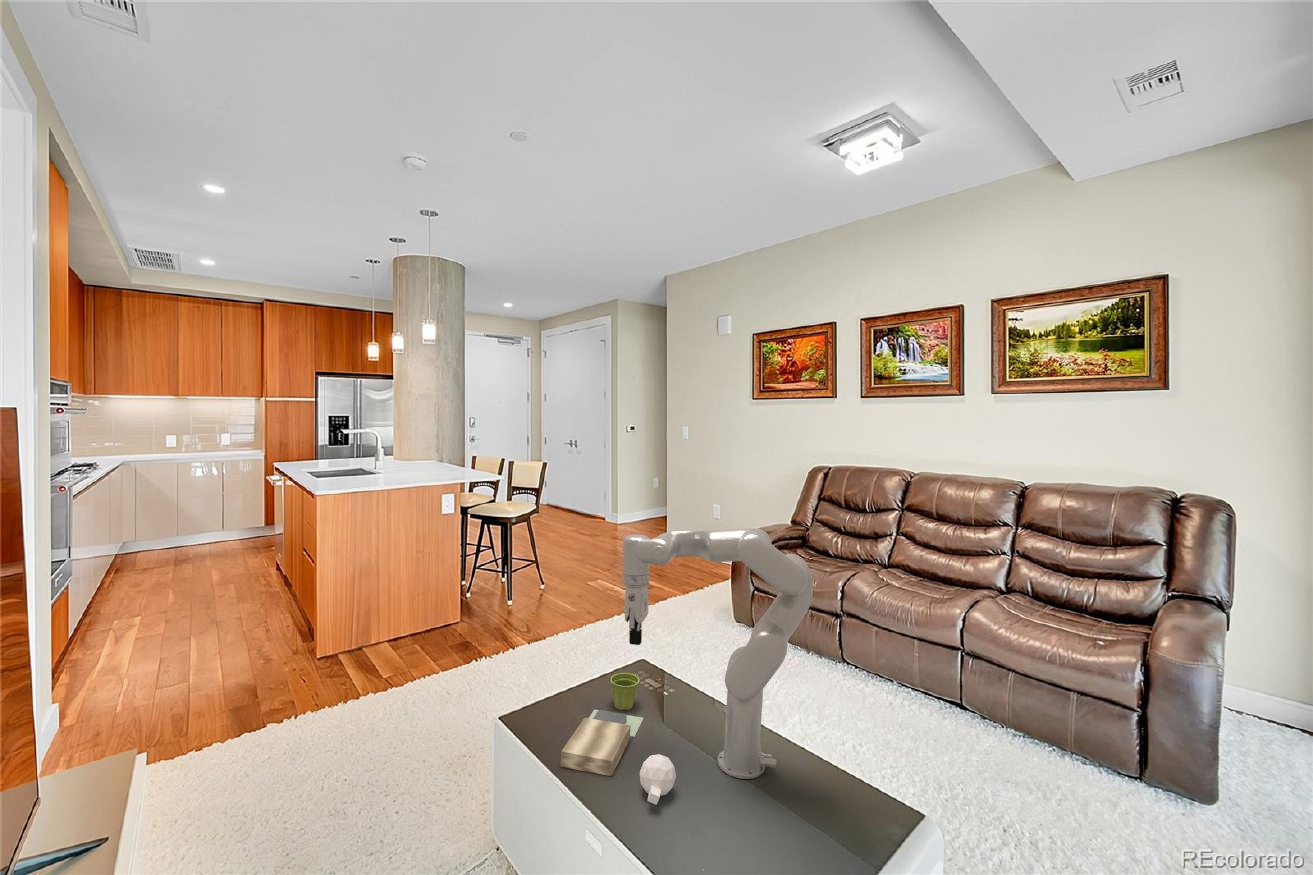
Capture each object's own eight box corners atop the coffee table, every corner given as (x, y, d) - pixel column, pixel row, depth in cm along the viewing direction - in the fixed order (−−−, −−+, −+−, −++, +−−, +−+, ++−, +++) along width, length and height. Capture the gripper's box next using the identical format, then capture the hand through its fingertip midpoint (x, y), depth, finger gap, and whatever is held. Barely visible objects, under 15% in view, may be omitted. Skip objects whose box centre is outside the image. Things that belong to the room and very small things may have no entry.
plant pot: (643, 704, 182) (645, 678, 182) (627, 716, 174) (628, 688, 174) (620, 696, 187) (621, 670, 187) (603, 707, 179) (604, 680, 179)
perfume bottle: (637, 770, 144) (630, 806, 132) (649, 740, 143) (643, 774, 131) (669, 783, 144) (664, 821, 132) (681, 753, 142) (678, 789, 130)
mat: (643, 718, 173) (643, 717, 173) (634, 737, 163) (634, 736, 163) (594, 710, 177) (594, 709, 177) (582, 728, 166) (582, 727, 166)
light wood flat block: (629, 739, 162) (630, 725, 162) (611, 776, 144) (612, 761, 144) (584, 731, 165) (584, 717, 165) (560, 766, 147) (561, 751, 147)
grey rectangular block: (621, 724, 165) (621, 731, 165) (626, 714, 171) (626, 720, 171) (592, 719, 167) (592, 726, 167) (598, 709, 173) (598, 716, 173)
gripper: (643, 587, 151) (642, 655, 151) (654, 573, 165) (653, 635, 165) (616, 585, 152) (615, 652, 152) (629, 572, 167) (629, 633, 167)
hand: (635, 643), depth 159 cm, fingers closed
